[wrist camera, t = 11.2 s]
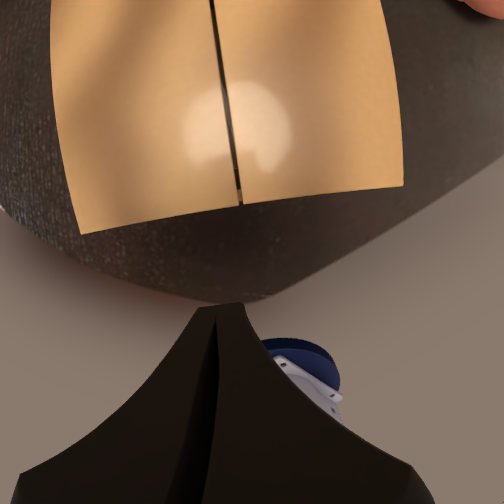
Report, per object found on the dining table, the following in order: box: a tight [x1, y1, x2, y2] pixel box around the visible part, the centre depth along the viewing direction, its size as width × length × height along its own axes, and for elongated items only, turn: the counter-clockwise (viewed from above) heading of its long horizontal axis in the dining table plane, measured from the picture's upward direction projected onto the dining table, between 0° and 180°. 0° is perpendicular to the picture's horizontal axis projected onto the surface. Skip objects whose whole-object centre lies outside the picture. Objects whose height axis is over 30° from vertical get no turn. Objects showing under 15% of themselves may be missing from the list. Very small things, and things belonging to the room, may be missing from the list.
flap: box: [214, 0, 403, 204], centre depth 9 cm, size 6×11×1 cm, turn 8°
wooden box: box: [50, 0, 243, 234], centre depth 12 cm, size 13×11×7 cm
